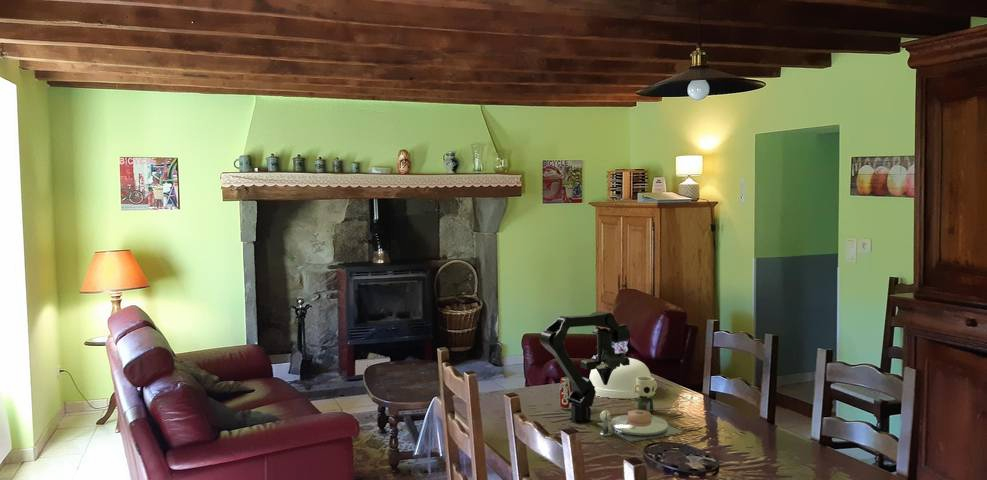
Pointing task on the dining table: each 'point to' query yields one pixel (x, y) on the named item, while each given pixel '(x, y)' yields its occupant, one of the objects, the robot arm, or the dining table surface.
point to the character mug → (645, 390)
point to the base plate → (638, 437)
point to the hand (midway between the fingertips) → (605, 384)
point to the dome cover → (620, 380)
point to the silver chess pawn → (605, 423)
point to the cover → (639, 418)
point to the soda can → (565, 393)
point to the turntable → (652, 429)
